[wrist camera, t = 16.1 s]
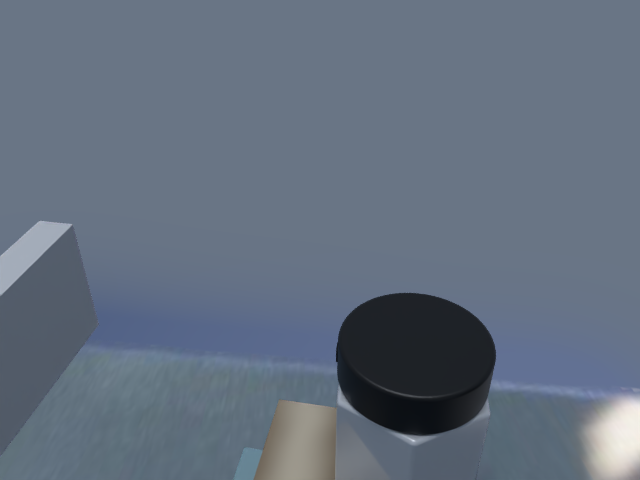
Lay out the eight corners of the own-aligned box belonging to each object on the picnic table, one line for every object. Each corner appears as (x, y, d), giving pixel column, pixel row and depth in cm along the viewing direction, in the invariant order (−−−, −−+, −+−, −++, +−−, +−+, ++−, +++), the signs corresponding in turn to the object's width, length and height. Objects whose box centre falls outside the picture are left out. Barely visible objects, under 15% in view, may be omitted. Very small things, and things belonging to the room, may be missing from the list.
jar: (424, 412, 43) (444, 275, 36) (498, 510, 36) (537, 365, 30) (307, 457, 40) (305, 315, 33) (366, 571, 33) (377, 425, 27)
